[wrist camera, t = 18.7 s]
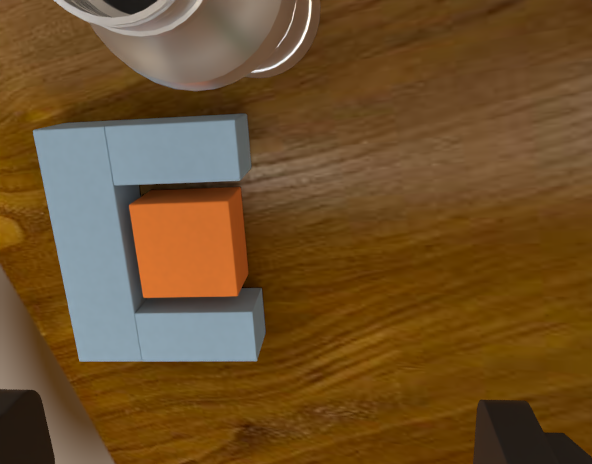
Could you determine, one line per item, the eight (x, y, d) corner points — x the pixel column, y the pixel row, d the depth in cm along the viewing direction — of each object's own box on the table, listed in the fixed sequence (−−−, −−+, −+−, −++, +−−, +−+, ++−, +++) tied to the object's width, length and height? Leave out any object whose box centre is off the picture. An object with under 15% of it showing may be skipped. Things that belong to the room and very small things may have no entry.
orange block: (150, 190, 33) (127, 204, 29) (240, 186, 32) (228, 201, 29) (162, 275, 34) (142, 298, 31) (249, 273, 34) (238, 297, 30)
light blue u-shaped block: (64, 122, 32) (31, 130, 29) (247, 113, 31) (235, 119, 27) (103, 334, 36) (79, 361, 33) (265, 332, 35) (257, 361, 32)
